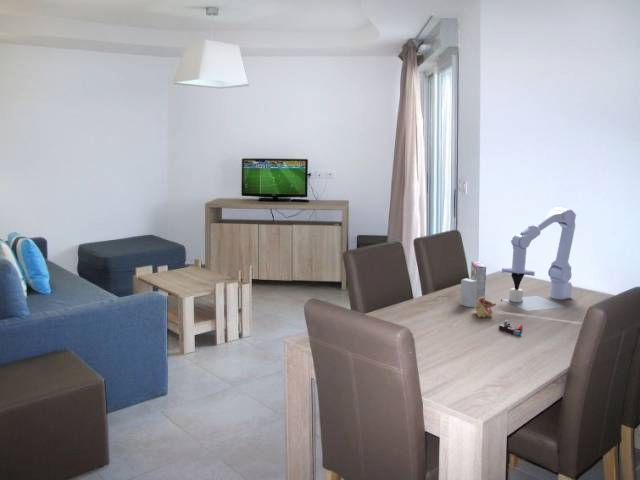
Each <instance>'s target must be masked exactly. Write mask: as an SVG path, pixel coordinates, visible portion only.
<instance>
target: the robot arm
mask: <svg viewBox="0 0 640 480" xmlns="http://www.w3.org/2000/svg"><path fill="white" fill-rule="evenodd" d="M576 216H577V214H576V213H575V212H574V210H573V209H568V208H564V207H559V206H555V207H553V208H552V209H551V210H549V211H548V214H547V215H546V216H544V217H543V218H542V219H541V220H540V221H539V222H538V223H536V224H530V225H528V227H527V228H525V229H524V230H522V231H521V232H520V233H519V234H515V235H514V236H513V237H512V239H511V240H510V243H511V245H512V249H513V250H512V251H513V252H512V263H511V267H502V268H501V273H507V274H511V278H512V281H513V285H514V288H515V289H516V290H518V289H520V285H521V282H522V280H523V278H524V276H531V277H535V275H536V271H534V270H530V269H526V259H527V248H528V247H530V244H531V243H532V241H533V240H534V239H536V238H537V237H539V236H540V235H541V231H543V230H544V229H546V228H547V227H550V225H553V223H557V224H559V226H560V227H561V232H560V233H561V234H560V238H559V242H558V248H557V252H556V258H555V260H554V261H552V262H551V264H550V267H549V269H548V272H547V273H548V276H549V280H550V289H549V297H550V299H555V300H565V299H572V295H573V294H572V292H573V285H572V284H573V283H572V282H571V281H570V280H572V279H571V278H572V276H573V274H572V266H571V265H570V263H569V260H570V255H571V250H572V244H573V241H574V240H573V239H574V234H575V229H576Z"/></svg>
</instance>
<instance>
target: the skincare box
mask: <svg viewBox="0 0 640 480" xmlns="http://www.w3.org/2000/svg"><path fill="white" fill-rule="evenodd" d="M476 293H477V281H475V280H471V278H463V279H461V280H460V306H464V307H467V308H468V307H469V308H474V307H476Z"/></svg>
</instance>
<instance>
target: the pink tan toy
mask: <svg viewBox="0 0 640 480" xmlns="http://www.w3.org/2000/svg"><path fill="white" fill-rule="evenodd" d="M495 306H497V304H496V303H493V302H491V301H488V300H487V299H486V297H485V296H484V297H480V298H478V299H477V300H476V306H475V307H473V308H474V310H475V311H476V314H477V317H478V318H482V319H484V318H486V317H487V318H490V319H491V318H492V317H493V316H492V315H493V310H492V308H493V307H495Z"/></svg>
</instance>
